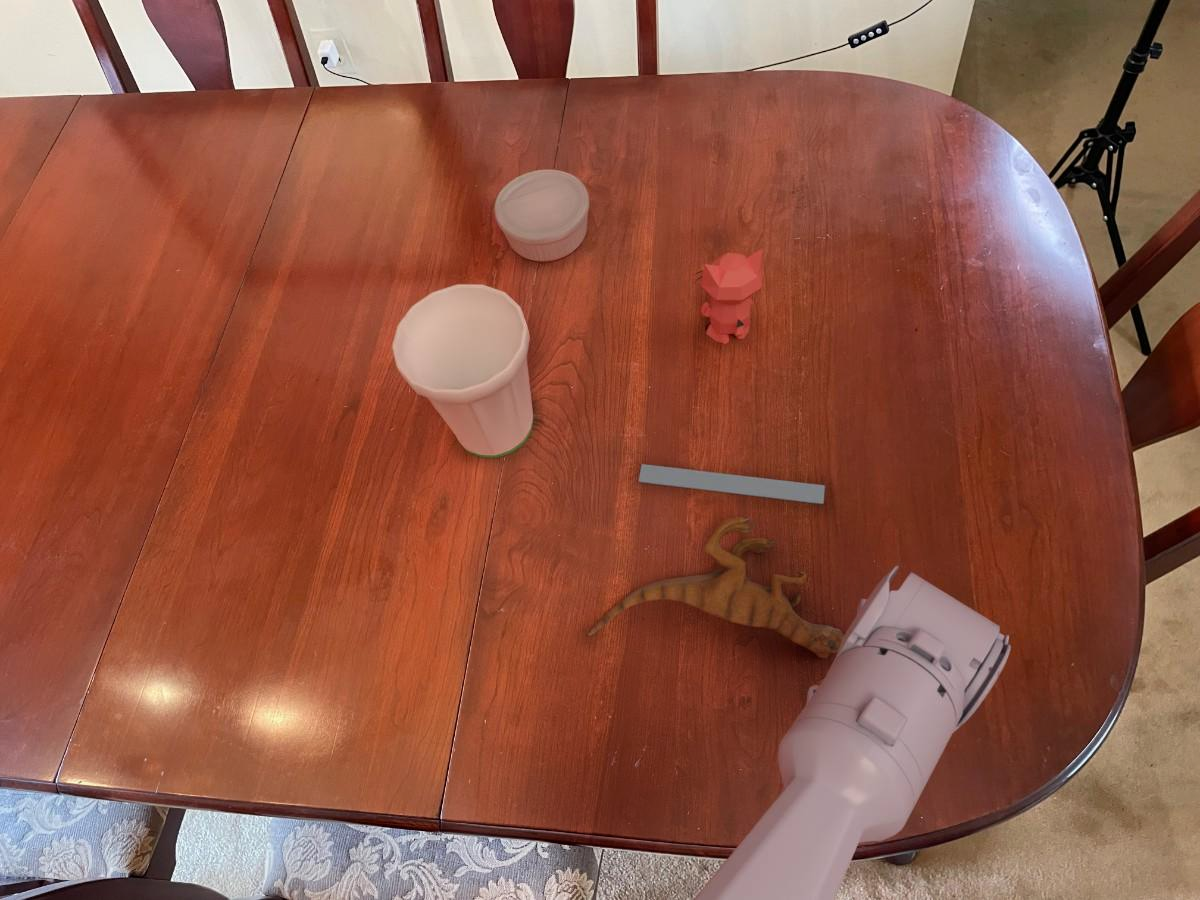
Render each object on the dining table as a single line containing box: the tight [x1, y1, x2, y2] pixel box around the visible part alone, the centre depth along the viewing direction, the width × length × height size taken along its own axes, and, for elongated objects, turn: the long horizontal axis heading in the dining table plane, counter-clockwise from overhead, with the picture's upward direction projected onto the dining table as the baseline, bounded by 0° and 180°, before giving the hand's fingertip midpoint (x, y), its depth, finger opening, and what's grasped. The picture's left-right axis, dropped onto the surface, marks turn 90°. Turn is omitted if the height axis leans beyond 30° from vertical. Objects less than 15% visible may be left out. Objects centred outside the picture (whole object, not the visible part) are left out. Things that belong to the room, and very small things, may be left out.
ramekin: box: [493, 169, 590, 263], centre depth 100 cm, size 11×11×5 cm
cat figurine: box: [692, 247, 764, 345], centre depth 87 cm, size 7×7×12 cm
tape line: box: [637, 463, 826, 505], centre depth 83 cm, size 2×18×1 cm, turn 79°
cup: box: [391, 283, 535, 459], centre depth 83 cm, size 12×12×15 cm
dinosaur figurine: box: [586, 516, 845, 659], centre depth 75 cm, size 7×22×12 cm
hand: (850, 739), depth 61 cm, fingers closed
